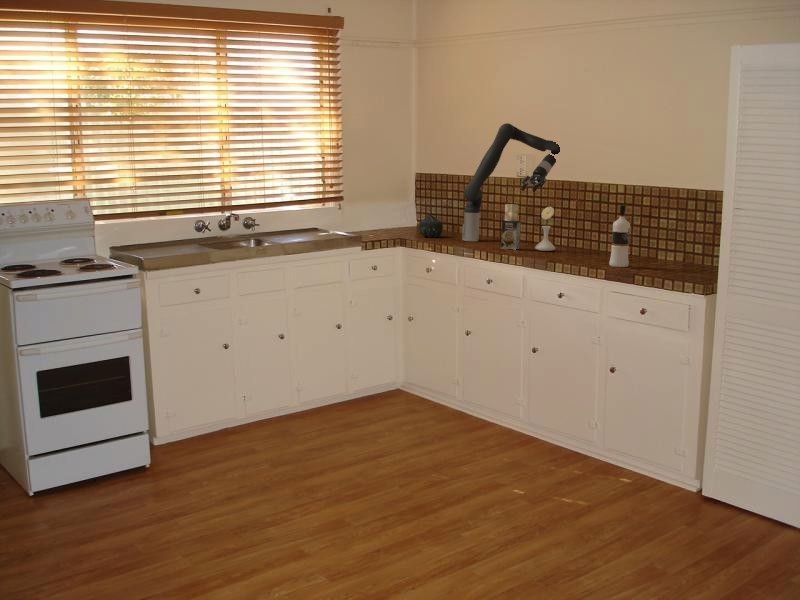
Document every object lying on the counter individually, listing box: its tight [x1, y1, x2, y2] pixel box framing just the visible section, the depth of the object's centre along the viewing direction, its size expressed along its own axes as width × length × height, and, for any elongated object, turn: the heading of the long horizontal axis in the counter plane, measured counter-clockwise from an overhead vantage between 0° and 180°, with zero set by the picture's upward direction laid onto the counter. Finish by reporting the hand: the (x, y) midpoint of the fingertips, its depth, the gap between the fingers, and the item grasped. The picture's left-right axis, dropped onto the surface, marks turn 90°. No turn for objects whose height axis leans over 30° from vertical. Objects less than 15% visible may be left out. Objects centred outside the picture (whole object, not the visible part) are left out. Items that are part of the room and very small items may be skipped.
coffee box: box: [500, 219, 522, 251], centre depth 498 cm, size 9×6×16 cm
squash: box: [418, 214, 443, 238], centre depth 555 cm, size 14×15×15 cm
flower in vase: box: [534, 206, 556, 252], centre depth 493 cm, size 13×11×25 cm
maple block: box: [504, 203, 519, 221], centre depth 496 cm, size 5×5×9 cm
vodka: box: [608, 204, 631, 268], centre depth 433 cm, size 9×9×30 cm
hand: (527, 190), depth 506 cm, fingers open, 8 cm apart
